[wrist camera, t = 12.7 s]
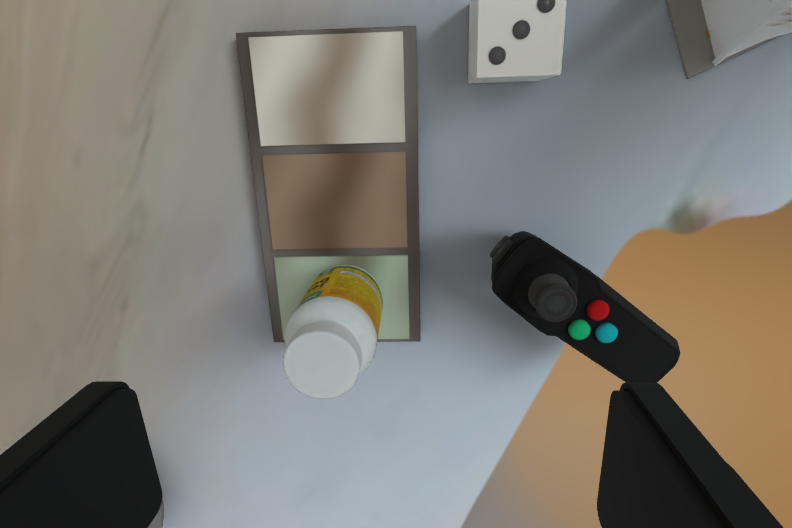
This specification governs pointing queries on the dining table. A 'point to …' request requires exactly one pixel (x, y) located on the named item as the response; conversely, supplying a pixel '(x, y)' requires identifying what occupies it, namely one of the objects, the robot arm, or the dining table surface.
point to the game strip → (336, 163)
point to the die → (515, 40)
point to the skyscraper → (725, 28)
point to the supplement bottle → (333, 332)
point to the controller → (580, 309)
